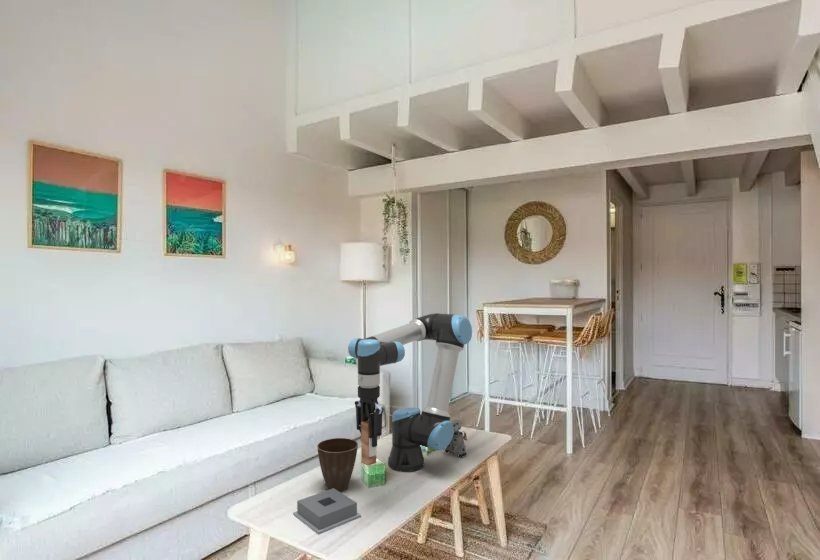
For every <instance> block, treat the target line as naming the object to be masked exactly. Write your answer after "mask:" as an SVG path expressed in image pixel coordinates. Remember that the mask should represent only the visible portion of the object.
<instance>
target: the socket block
mask: <svg viewBox="0 0 820 560" xmlns="http://www.w3.org/2000/svg"><path fill="white" fill-rule="evenodd" d="M296 503H297V504H296V506H297V507H296V509H297V510H296V511H294V512H292V516H294V517H296V519H298V520H299V521H300V522H302V523H303V524H304V525H305V526H307V527H308V528H310V529H311V530H312V531H313V532H315V533H316V534H317V535H320V534H323V533H326V532H328V531H330V530H332V529H335V528H337V527H340V526H342V525H344V524H348V523H350V522H352V521H354V520H356V518H357V519H359V518H361V517H362V514H360V513H359V512H358V503H357V501H355V500H353V499H352V498H350V497H348V496H347V495H345V494H344V493H342V491H340V492H339V491H337V490H336V489H334V488H332V489H330V490H328V489H327V490H324V491H322V492H317V493H316V494H313V495H309V496H307V497H304V498H301V499H299V500H297V501H296Z"/></svg>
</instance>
